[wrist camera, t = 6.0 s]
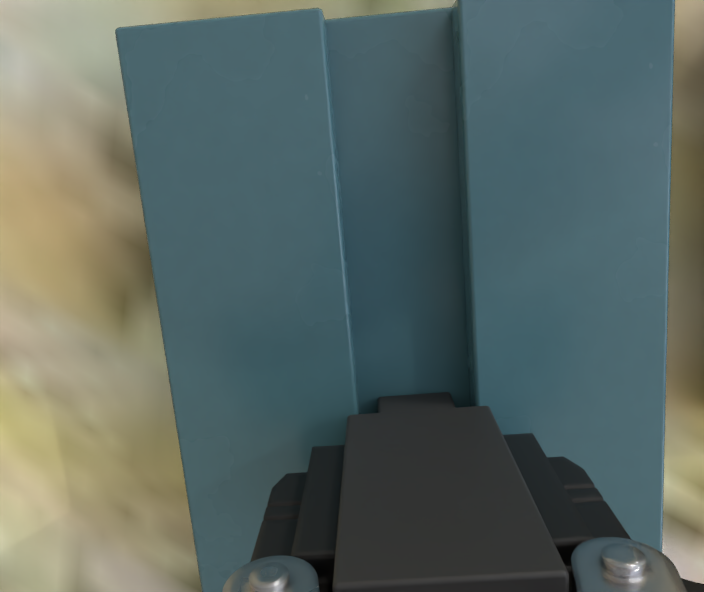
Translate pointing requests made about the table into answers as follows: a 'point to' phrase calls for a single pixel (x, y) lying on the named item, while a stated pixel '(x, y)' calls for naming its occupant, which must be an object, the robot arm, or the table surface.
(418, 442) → the slider
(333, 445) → the robot arm
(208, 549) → the control base
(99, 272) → the table surface
